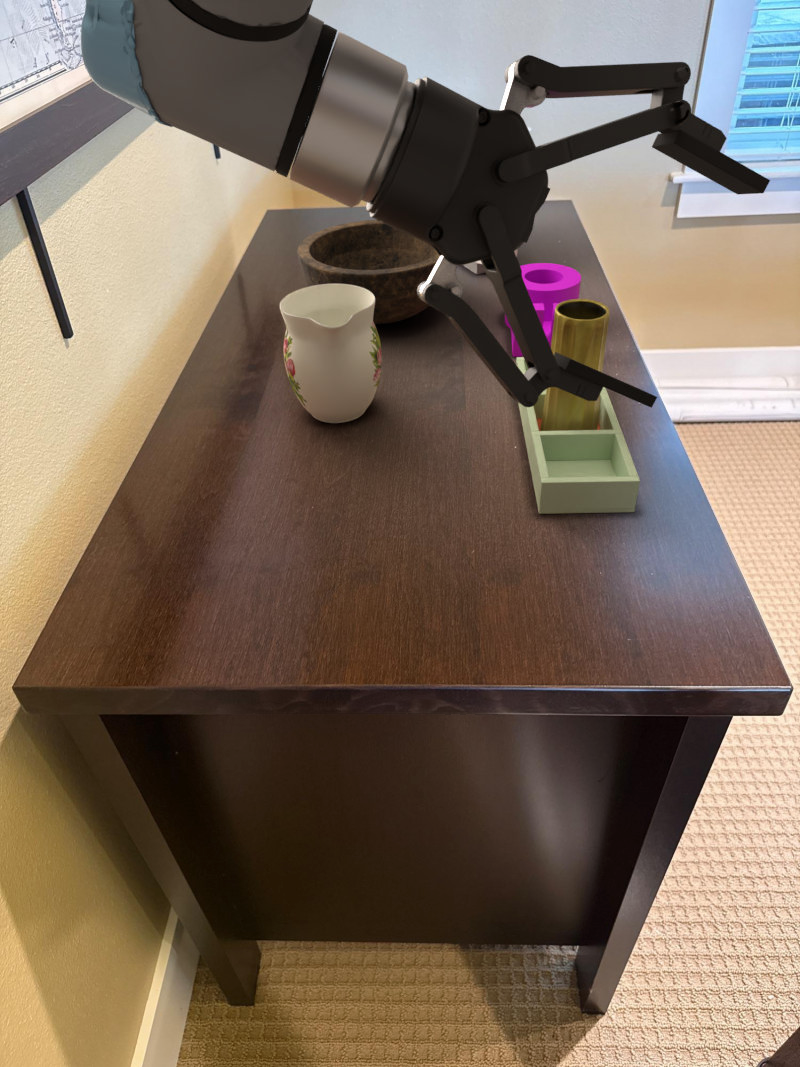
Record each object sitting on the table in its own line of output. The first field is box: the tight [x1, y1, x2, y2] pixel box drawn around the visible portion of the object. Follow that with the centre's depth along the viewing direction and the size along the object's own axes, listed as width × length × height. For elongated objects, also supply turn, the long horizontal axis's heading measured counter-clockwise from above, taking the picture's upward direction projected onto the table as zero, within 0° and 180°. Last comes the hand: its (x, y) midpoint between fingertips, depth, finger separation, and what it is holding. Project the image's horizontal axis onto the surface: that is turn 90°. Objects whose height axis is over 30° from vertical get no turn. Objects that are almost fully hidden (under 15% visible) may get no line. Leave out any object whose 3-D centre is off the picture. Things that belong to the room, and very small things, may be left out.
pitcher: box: [279, 284, 383, 424], centre depth 88 cm, size 11×18×14 cm, turn 10°
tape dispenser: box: [504, 262, 582, 358], centre depth 104 cm, size 16×10×6 cm, turn 175°
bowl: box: [297, 219, 440, 325], centre depth 109 cm, size 22×22×10 cm
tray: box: [515, 357, 641, 515], centre depth 83 cm, size 26×9×4 cm, turn 179°
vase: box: [540, 298, 611, 431], centre depth 79 cm, size 6×6×14 cm
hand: (697, 297), depth 48 cm, fingers open, 13 cm apart
